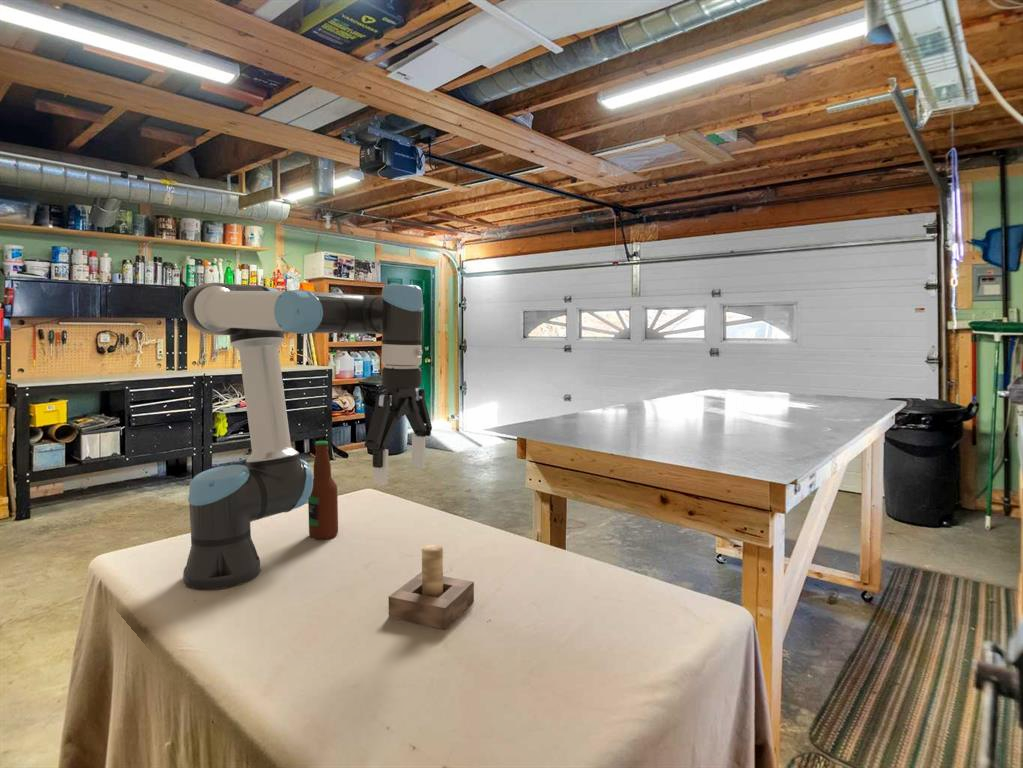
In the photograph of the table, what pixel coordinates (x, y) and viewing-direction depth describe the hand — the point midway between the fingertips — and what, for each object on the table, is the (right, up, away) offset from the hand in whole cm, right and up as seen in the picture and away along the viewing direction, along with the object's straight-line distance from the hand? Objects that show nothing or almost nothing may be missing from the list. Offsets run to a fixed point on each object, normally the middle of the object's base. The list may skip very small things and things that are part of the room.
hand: (400, 475), depth 113 cm
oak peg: (+6, -26, 0) cm, 27 cm away
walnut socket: (+6, -26, 0) cm, 27 cm away
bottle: (-28, -22, +40) cm, 53 cm away
